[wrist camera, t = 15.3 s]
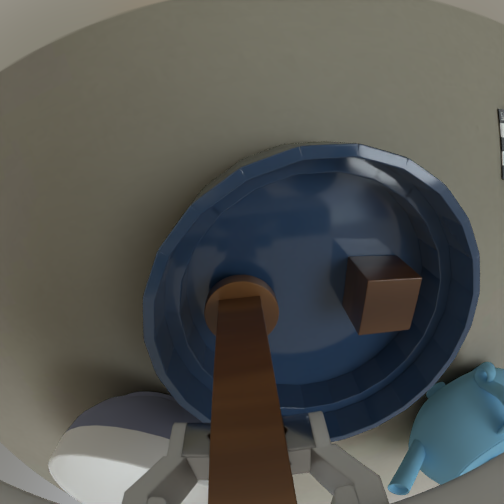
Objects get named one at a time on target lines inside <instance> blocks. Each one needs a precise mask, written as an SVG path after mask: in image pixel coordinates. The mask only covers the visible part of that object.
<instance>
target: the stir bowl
mask: <svg viewBox="0 0 504 504" xmlns="http://www.w3.org/2000/svg"><path fill="white" fill-rule="evenodd" d="M393 255H397V256H398V257H399V258H400V259H401V260H403V261H404V262H405V263H406V264H407V265H408V266H410V267H411V268H412V269H413V270H414V271H415V272H416V273H418V274H419V275H420V276H421V277H422V281H421V286H420V290H419V294H418V299H417V303H416V307H415V311H414V315H413V319H412V322H411V326H410V329H409V330H401V331H393V332H385V333H376V334H367V335H358V333H357V332H356V330H355V328H354V326H353V324H352V322H351V321H350V319H349V317H348V315H347V313H346V312H345V310H344V308H343V306H342V303H343V296H344V288H345V280H346V272H347V263H348V257H353V256H393ZM233 275H250V276H254V277H257V278H259V279H261V280H263V281H264V282H265V283H267V284H268V285H269V286H270V287H271V289H272V290H273V292H274V294H275V296H276V299H277V303H278V307H279V318H278V321H277V324H276V326H275V328H274V329H273V331H272V332H271V333H270V334H269V335H268V341H269V347H270V352H271V358H272V364H273V369H274V375H275V381H276V386H277V392H278V398H279V403H280V409H281V415H282V417H283V416H290V415H297V414H303V413H311V412H317V411H322V412H323V415H324V419H325V422H326V426H327V430H328V433H329V437H330V441H331V442H334V441H339V440H343V439H346V438H349V437H352V436H355V435H357V434H360V433H363V432H365V431H368V430H370V429H373V428H375V427H377V426H379V425H381V424H383V423H384V422H386V421H388V420H389V419H391V418H393V417H395V416H396V415H398V414H399V413H401V412H403V411H404V410H405V409H407V408H408V407H410V406H411V405H412V404H413V403H414V402H416V401H417V400H418V399H419V398H420V397H421V396H423V395H424V394H425V393H426V392H427V391H428V390H429V389H431V388H432V386H434V384H435V383H436V382H437V381H438V380H439V378H440V377H441V376H442V375H443V373H444V372H445V371H446V370H447V368H448V367H449V366H450V364H451V363H452V362H453V360H454V359H455V357H456V355H457V354H458V352H459V350H460V348H461V346H462V344H463V342H464V340H465V338H466V336H467V334H468V332H469V330H470V328H471V325H472V321H473V318H474V314H475V310H476V306H477V302H478V297H479V293H480V292H479V291H480V256H479V251H478V247H477V244H476V240H475V237H474V233H473V230H472V227H471V224H470V221H469V218H468V217H467V215H466V214H465V212H464V211H463V209H462V208H461V206H460V205H459V203H458V202H457V200H456V199H455V198H454V196H453V195H452V193H451V192H450V191H449V189H448V188H447V186H446V185H445V184H444V183H443V182H441V181H440V180H439V179H437V178H436V177H435V176H433V175H432V174H431V173H429V172H428V171H426V170H425V169H424V168H422V167H421V166H419V165H418V164H416V163H415V162H414V161H412V160H411V159H409V158H407V157H404V156H401V155H398V154H394V153H391V152H388V151H384V150H381V149H377V148H374V147H370V146H366V145H363V144H357V143H345V142H327V141H324V142H305V143H290V144H283V145H279V146H276V147H273V148H271V149H268V150H265V151H262V152H260V153H257V154H254V155H252V156H249V157H246V158H244V159H242V160H240V161H238V162H237V163H235V164H234V165H233V166H231V167H230V168H229V169H227V170H226V171H224V172H223V173H222V174H220V175H219V176H218V177H216V178H215V179H214V180H212V181H211V182H210V183H208V184H207V185H206V186H205V187H204V188H203V189H202V190H201V192H200V193H199V194H198V196H197V197H196V198H195V200H194V201H193V202H192V204H191V205H190V206H189V208H188V209H187V210H186V212H185V213H184V214H183V216H182V217H181V218H180V220H179V221H178V223H177V224H176V225H175V227H174V228H173V229H172V231H171V232H170V234H169V235H168V236H167V238H166V239H165V241H164V242H163V243H162V245H161V246H160V248H159V250H158V251H157V254H156V257H155V260H154V263H153V266H152V269H151V272H150V275H149V278H148V282H147V285H146V288H145V291H144V295H143V334H144V342H145V345H146V348H147V350H148V353H149V356H150V359H151V362H152V364H153V367H154V370H155V372H156V375H157V376H158V378H159V379H160V380H161V382H162V383H163V384H164V386H165V387H166V388H167V390H168V391H169V392H170V394H171V395H172V396H173V398H174V399H175V400H176V401H177V403H178V404H179V405H180V406H182V407H183V408H184V409H185V410H187V411H188V412H189V413H191V414H192V415H193V416H195V417H196V418H197V419H199V420H200V421H201V422H203V423H211V410H212V392H213V374H214V358H215V343H216V336H215V335H214V334H213V333H212V332H211V331H210V329H209V328H208V326H207V324H206V321H205V317H204V310H205V303H206V298H207V295H208V293H209V291H210V290H211V289H212V287H213V286H214V285H215V284H216V283H218V282H219V281H221V280H222V279H224V278H227V277H229V276H233Z"/></svg>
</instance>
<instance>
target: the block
mask: <svg viewBox="0 0 504 504" xmlns="http://www.w3.org/2000/svg"><path fill="white" fill-rule="evenodd" d="M421 281H422V277H421V276H420V275H419V274H418V273H416V272H415V271H414V270H413V269H412V268H411V267H410V266H408V265H407V264H406V263H405V262H404V261H403V260H401V259H400V258H399V257H398V256H397V255H393V256H353V257H348V263H347V272H346V280H345V288H344V296H343V303H342V306H343V308H344V310H345V312H346V313H347V315H348V317H349V319H350V321H351V322H352V324H353V326H354V328H355V330H356V332H357V333H358V335H367V334H376V333H385V332H393V331H401V330H409V329H410V326H411V322H412V319H413V315H414V311H415V307H416V303H417V299H418V294H419V290H420V286H421Z"/></svg>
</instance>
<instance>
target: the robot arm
mask: <svg viewBox="0 0 504 504" xmlns="http://www.w3.org/2000/svg"><path fill="white" fill-rule="evenodd" d="M282 420H283V426H284V432H285V437H286V443H287V449H288V455H289V460H290V466H291V472H292V474H300V473H308V472H310V474H311V475H312V476H313V477H314V478H315V479H316V480H317V481H318V482H319V483H320V484H321V485H322V486H324V487H325V488H326V489H327V490H328V491H329V492H330V493H331V494H332V495H333V498H332V501H331V504H389V502H388V499H387V496H386V493H385V490H384V487H383V484H382V481H381V478H380V476H379V475H377V474H376V473H375V472H373V471H372V470H370V469H369V468H367V467H366V466H365V465H363V464H362V463H361V462H359V461H358V460H356V459H355V458H354V457H352V456H351V455H350V454H348V453H347V452H346V451H344V450H343V449H342V448H340V447H339V446H338V445H336V444H332V445H331V441H330V437H329V433H328V430H327V426H326V422H325V419H324V415H323V412H322V411H317V412H311V413H303V414H297V415H290V416H283V417H282ZM210 431H211V423H174V424H173V426H172V431H171V436H170V441H169V447H168V452H167V456H163V457H162V458H161V459H160V460H159V461H158V462H157V463H155V464H154V465H153V466H152V467H151V468H150V469H149V470H148V471H147V472H146V473H145V474H144V475H143V476H142V477H140V478H139V479H138V480H137V481H136V482H135V483H134V484H133V485H132V486H131V487H129V488H128V489H127V490H126V491H125V492H124V496H123V500H122V504H181V503H182V501H183V500H184V499H185V498H186V496H187V495H188V494H189V493H190V491H191V490H192V489H193V487H194V486H195V485H196V484H197V482H198V480H209V454H210ZM0 504H58V503H55V502H53V501H50V500H47V499H44V498H41V497H39V496H36V495H33V494H31V493H28V492H26V491H23V490H21V489H19V488H16V487H14V486H12V485H10V484H7V483H5V482H3V481H1V480H0ZM391 504H504V452H503V453H501V454H500V455H498V456H496V457H495V458H493V459H491V460H489V461H488V462H486V463H484V464H482V465H480V466H479V467H477V468H475V469H473V470H471V471H469V472H467V473H465V474H463V475H461V476H459V477H457V478H455V479H453V480H450V481H448V482H446V483H444V484H442V485H439V486H437V487H435V488H432V489H430V490H427V491H425V492H422V493H420V494H417V495H414V496H412V497H409V498H406V499H403V500H400V501H397V502H394V503H391Z"/></svg>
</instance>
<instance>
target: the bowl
mask: <svg viewBox="0 0 504 504" xmlns="http://www.w3.org/2000/svg"><path fill="white" fill-rule="evenodd" d="M174 423H203V422H201V421H200V420H199V419H197V418H196V417H195V416H193V415H192V414H191V413H189V412H188V411H187V410H185V409H184V408H183V407H182V406H180V405H179V404H178V403H177V401H176V400H175V399H174V398H173V396H170V395H167V394H163V393H158V392H149V391H144V392H134V393H130V394H128V395H125V396H118V397H112V398H110V399H107V400H105V401H103V402H101V403H99V404H97V405H95V406H94V407H92V408H90V409H88V410H86V411H85V412H83V413H82V414H81V415H80V416H78V417H77V419H76V420H75V421H74V422H73V424H72V425H71V426H70V427H69V429H68V430H67V431H66V432H65V433H64V434H63V436H62V437H61V439H60V441H59V443H58V445H57V446H56V448H55V450H54V452H53V454H52V456H51V458H50V460H49V462H48V466H49V472H50V474H51V475H52V477H53V479H54V480H55V481H56V482H57V484H58V485H59V486H60V487H61V488H62V489H63V490H64V491H66V492H67V493H68V494H69V495H71V496H72V497H73V498H74V499H76V500H77V501H79V502H80V503H82V504H122V500H123V496H124V492H125V491H126V490H127V489H128V488H129V487H131V486H132V485H133V484H134V483H135V482H136V481H137V480H138V479H139V478H140V477H142V476H143V475H144V474H145V473H146V472H147V471H148V470H149V469H150V468H151V467H152V466H153V465H154V464H155V463H157V462H158V461H159V460H160V459H161V458H162V457H163V456H167V452H168V447H169V441H170V436H171V431H172V426H173V424H174ZM208 482H209V480H198V482H197V484H196V485H195V486H194V487H193V489H192V490H191V491H190V493H189V494H188V495H187V496H186V498H185V499H184V500H183V501H182V503H181V504H208Z"/></svg>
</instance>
